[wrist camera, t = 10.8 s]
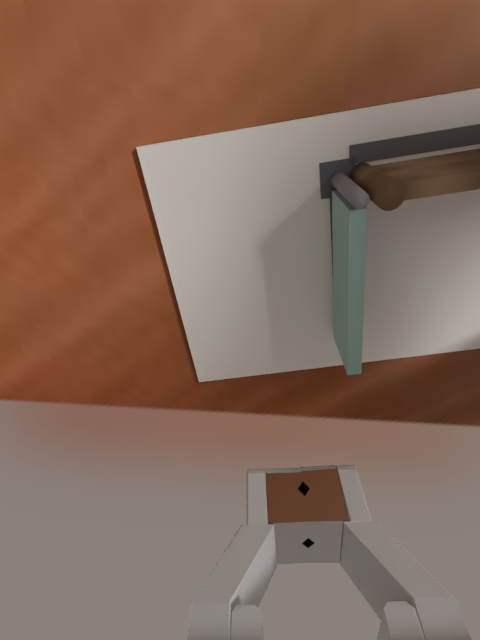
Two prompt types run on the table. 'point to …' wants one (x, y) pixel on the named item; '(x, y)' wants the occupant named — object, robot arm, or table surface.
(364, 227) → the gate panel
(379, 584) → the robot arm
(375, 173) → the fence
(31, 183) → the table surface
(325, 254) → the card
